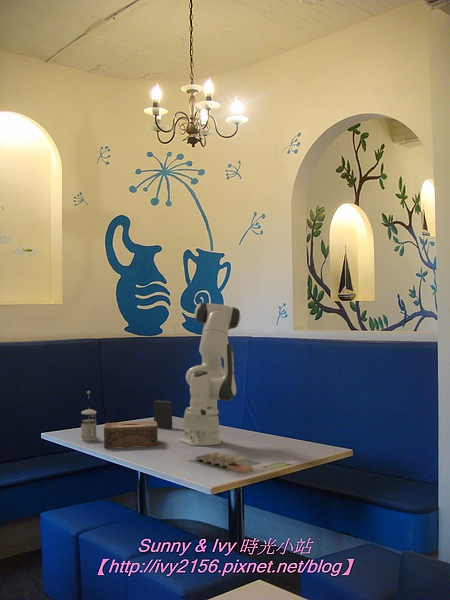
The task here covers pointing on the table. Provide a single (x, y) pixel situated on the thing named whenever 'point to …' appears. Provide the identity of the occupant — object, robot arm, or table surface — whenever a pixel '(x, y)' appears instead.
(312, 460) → the table surface
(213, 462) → the domino
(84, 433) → the french press
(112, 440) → the tissue box cover
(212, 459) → the domino
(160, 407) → the black rectangular slab
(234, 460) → the domino
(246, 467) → the end domino
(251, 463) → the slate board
